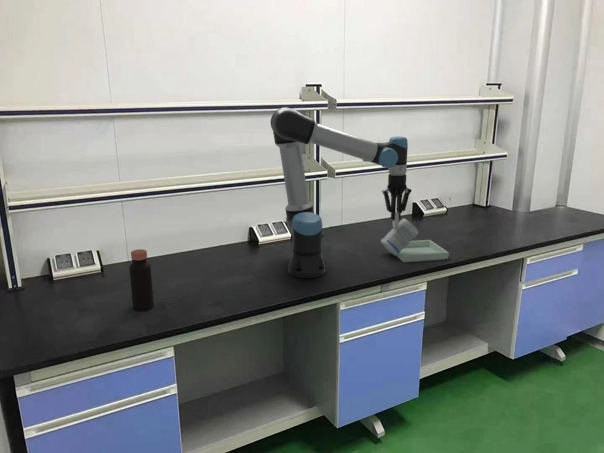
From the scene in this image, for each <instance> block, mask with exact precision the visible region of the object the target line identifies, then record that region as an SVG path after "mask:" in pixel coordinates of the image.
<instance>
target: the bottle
mask: <svg viewBox="0 0 604 453" xmlns="http://www.w3.org/2000/svg"><path fill="white" fill-rule="evenodd" d="M130 255H131V256H130V258H131V262H132V263H131V264H130V265H129V268H128V269H129V278H130V288H131V289H130V290H131V301H132V309H133V310H135V311H136V312H145V311H146V312H147V311H149V310H151V309H152V308H154V305H155V304H154V303H155V302H154V292H153V277H152V266H151V264H150V263H149V262H148V261H147V260H148V252H147V250H145V249H140V248H139V249H135V250H131V252H130Z"/></svg>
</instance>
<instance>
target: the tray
mask: <svg viewBox="0 0 604 453" xmlns="http://www.w3.org/2000/svg"><path fill="white" fill-rule="evenodd" d="M395 256H396V258H398V259H399V260H400V261H402V262H403V263H404V264H405V263H415V262H430V261H431V262H432V261H444V260H445V259H447V260H449V256H450V252H449V251H447V250H446V249H444V248H443V247H442V246H440V245H438V244H437V243H436V242H434V241H432V240H431V239H424V240H423V239H422V240H412V241H411V242H410V243H409V244H408V245H407V246H406V247H405V248H403V249H402V250H401V251H400V252H399V253H398V254H397V255H394V257H395Z"/></svg>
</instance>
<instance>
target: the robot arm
mask: <svg viewBox="0 0 604 453" xmlns="http://www.w3.org/2000/svg"><path fill="white" fill-rule="evenodd" d="M271 115H272V116H271V118H270V128H271V130H272V133H273V139H274V140H273V141H274V144H275V145H276V146H277V147H278V148H279V152H280V153H279V154H280V159H281V166H282V167H281V168H282V171H283V172H282V173H283V178H284V179H283V180H284V185H285V191H286V192H285V193H286V198H287V205H286V206H285V208H284V209H285V215H286V218H285V219H286V221H285V222H286V223H285V224H286V227H287V229H288V230H289V232H290V234H291V236H292V237H291V238H292V244H291V245H292V254H291V257H290V259H289V262H288V265H287V272H288V274H289V275H291V276H292V277H296V278H298V279H299V278H301V279H314V278H319V277H321V276H323V275H325V272H326V266H325V262H324V258H323V256H322V238H323V237H322V236H323V221H322V217H321V216H320V215H319V214H317V213H315V212H314V205H313V204H314V203H312V202H310V201H309V196H308V187H307V180H306V173H305V168H304V167H305V166H304V161H303V153H302V146H301V145H302V144H305V145H309V144H313V145H317V146H320V147H323V148H326V149H329V150H331V151H336V152H338V153H342V154H344V155H347V156H350V157H354V158H356V159H357V158H358V159H360V160H361V161H363V162H366V163H367V162H369V163H372V164H376V165H378V166H381V167H382V168H387V169H388V179H387V186H386V189H382V190H381V192H382V194H383V196H384V201H385V207H386V211H388V212H389V213H390V219H391V221H392V228H394V227H395V228H398V224H399V222H400V221H401V218H402V215H401V214H402V213H403V212H405V211H406V207H407V205H408V204H407V203H408V200H409V197H410V194H411V193H412V189H411V188H409V187H407V174H406V173H407V169H408V168H407V167H408V166H407V165H408V149H409V148H408V146H409V145H408V144H409V143H408V138H407V137H404V136H391V137H389V140H388V142H373V141H370V140H367V139H364V138H362V137H358V136H355V135H352V134H349V133H346V132H344V131H341V130H338V129H335V128H331V127H329V126H325V125H323V124H319V123H318V122H317V121H316V119H313V118H311V117H308V116H307V115H305V114H302V113H301V112H299V111H297V110H295V109H294V108H291V107H284V106H283V107H281V108H277V110H275V111H274V112H273V114H271ZM389 194H390V195H389Z"/></svg>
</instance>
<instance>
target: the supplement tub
mask: <svg viewBox="0 0 604 453" xmlns="http://www.w3.org/2000/svg"><path fill="white" fill-rule="evenodd" d="M418 234H419V231H418V229H417V228H416V226H414V225H413V223H411V222H410V221H409V220H407V219H406V218H402V219H400V220H399V224H398V228H395V227H392V228H391V230H390V231H388V233H386V235H385V236H384V237H383V238H381V240H380V243H381V244H382V246H384V248H385V249H387V251H388V252H390V253H391V255H393V256H395V255H397V254H398V253H399V252H400V251H401V250H402V249H403V248H405V247H406V246H407V245H408V244H409V243H410V242H411V241H414V238H416V236H417V235H418Z"/></svg>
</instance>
